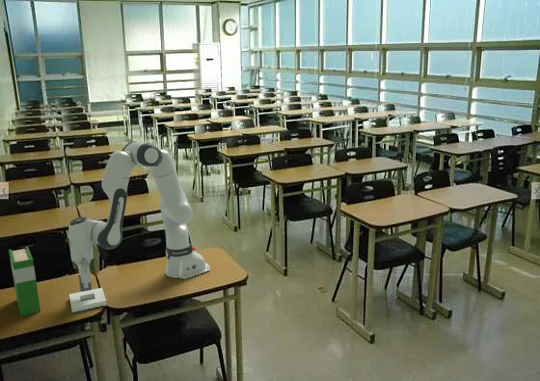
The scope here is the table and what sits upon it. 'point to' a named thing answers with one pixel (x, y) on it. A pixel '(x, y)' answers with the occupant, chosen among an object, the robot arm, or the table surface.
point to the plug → (83, 285)
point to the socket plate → (87, 300)
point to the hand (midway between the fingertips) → (85, 284)
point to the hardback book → (24, 281)
